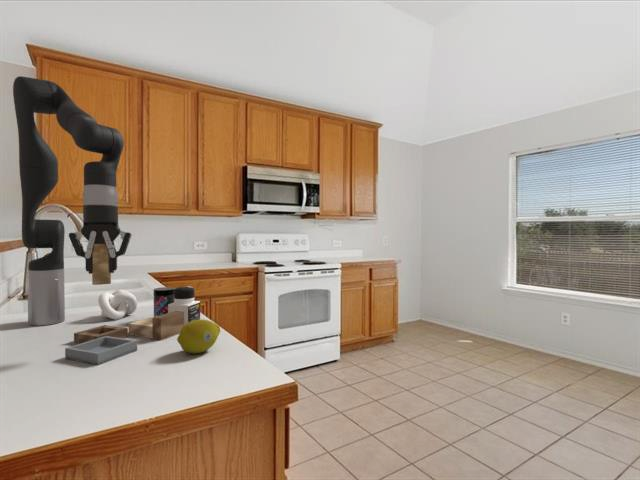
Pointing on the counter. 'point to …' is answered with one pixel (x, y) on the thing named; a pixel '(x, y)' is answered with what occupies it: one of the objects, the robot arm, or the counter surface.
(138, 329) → the light wooden block
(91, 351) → the tray
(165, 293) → the supplement container
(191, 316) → the medicine bottle
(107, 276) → the dowel
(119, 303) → the white knot sculpture
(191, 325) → the lemon
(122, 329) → the socket block
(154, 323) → the block
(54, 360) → the counter surface
